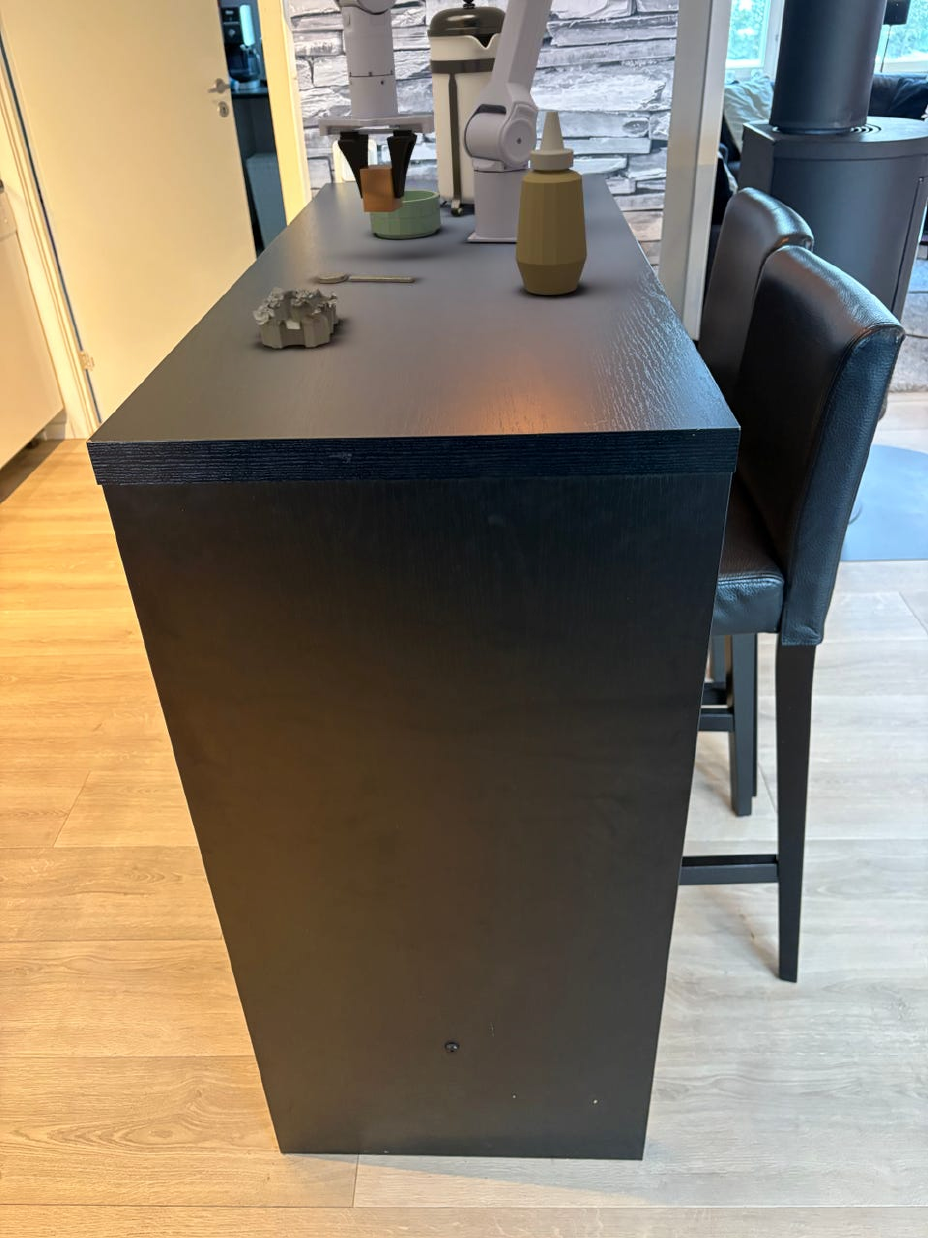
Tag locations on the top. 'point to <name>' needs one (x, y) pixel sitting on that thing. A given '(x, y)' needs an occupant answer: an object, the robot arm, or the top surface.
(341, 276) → the spoon
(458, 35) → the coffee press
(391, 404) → the top surface
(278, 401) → the top surface
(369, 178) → the block
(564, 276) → the squeeze bottle
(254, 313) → the grey succulent planter
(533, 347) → the top surface
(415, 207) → the bowl
